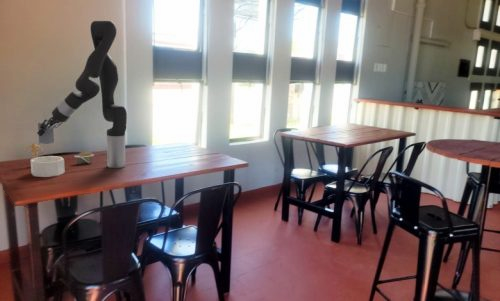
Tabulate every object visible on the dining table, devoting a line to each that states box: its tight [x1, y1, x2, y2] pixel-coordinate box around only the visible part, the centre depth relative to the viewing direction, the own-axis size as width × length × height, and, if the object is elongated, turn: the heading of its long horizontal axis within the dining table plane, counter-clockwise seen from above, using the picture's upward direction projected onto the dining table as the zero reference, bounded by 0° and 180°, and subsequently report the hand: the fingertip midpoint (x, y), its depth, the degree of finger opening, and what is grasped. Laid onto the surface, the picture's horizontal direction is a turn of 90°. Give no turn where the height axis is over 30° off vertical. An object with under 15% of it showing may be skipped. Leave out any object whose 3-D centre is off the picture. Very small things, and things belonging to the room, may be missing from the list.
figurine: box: [25, 142, 44, 159], centre depth 199 cm, size 8×6×12 cm
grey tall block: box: [37, 121, 55, 145], centre depth 185 cm, size 5×5×10 cm
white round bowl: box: [30, 155, 66, 178], centre depth 188 cm, size 14×14×7 cm
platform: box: [74, 151, 95, 165], centre depth 210 cm, size 12×18×7 cm, turn 133°
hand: (42, 133), depth 185 cm, fingers closed on grey tall block, 4 cm apart
